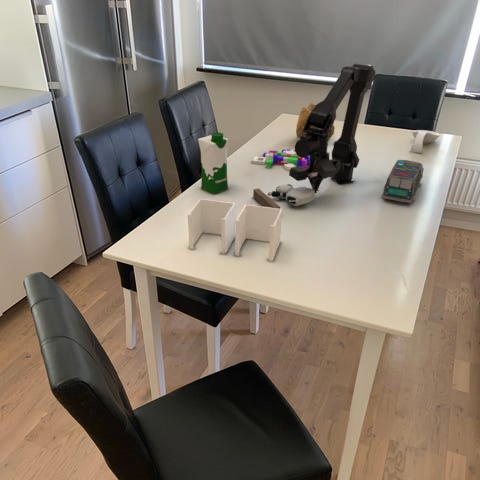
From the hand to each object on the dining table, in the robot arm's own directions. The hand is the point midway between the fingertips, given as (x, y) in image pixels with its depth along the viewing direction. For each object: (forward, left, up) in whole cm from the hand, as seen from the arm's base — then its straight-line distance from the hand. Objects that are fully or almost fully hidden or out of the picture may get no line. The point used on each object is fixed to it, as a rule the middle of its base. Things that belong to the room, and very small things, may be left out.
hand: (314, 193), depth 169 cm
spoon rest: (-74, -29, -2) cm, 79 cm away
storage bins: (+40, +20, -2) cm, 45 cm away
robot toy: (+8, -1, -2) cm, 9 cm away
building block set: (-8, -36, -2) cm, 37 cm away
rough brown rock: (-32, -52, -2) cm, 61 cm away
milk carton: (+30, -21, -2) cm, 37 cm away
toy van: (-32, +8, -2) cm, 33 cm away
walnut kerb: (+19, 0, -2) cm, 19 cm away
